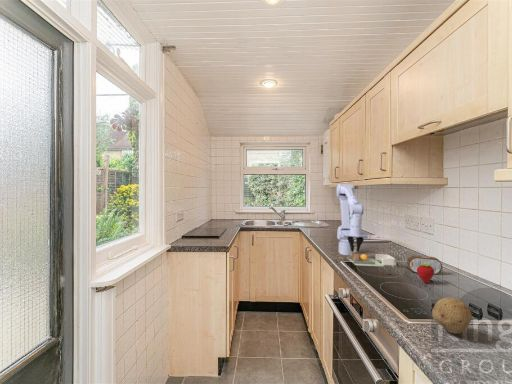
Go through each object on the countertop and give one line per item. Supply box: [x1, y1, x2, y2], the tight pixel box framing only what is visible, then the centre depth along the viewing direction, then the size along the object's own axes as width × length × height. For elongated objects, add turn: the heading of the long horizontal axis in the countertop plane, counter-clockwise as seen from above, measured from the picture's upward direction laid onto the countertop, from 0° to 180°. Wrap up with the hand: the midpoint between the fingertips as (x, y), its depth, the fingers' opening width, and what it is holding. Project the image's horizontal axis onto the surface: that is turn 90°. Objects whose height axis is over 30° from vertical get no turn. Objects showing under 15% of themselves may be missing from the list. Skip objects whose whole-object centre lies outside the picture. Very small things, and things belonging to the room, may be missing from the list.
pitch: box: [346, 253, 397, 267], centre depth 149 cm, size 16×22×4 cm
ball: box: [359, 253, 369, 261], centre depth 150 cm, size 4×4×4 cm
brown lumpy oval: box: [431, 297, 472, 335], centre depth 79 cm, size 9×9×10 cm
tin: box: [406, 254, 443, 276], centre depth 136 cm, size 15×3×8 cm, turn 74°
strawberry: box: [416, 263, 434, 284], centre depth 121 cm, size 6×8×10 cm
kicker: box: [349, 245, 360, 261], centre depth 150 cm, size 8×2×8 cm, turn 178°
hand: (354, 251), depth 150 cm, fingers closed on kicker, 2 cm apart
